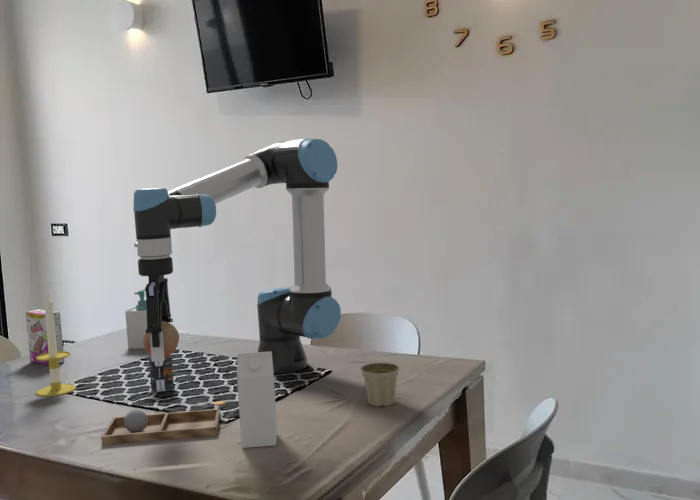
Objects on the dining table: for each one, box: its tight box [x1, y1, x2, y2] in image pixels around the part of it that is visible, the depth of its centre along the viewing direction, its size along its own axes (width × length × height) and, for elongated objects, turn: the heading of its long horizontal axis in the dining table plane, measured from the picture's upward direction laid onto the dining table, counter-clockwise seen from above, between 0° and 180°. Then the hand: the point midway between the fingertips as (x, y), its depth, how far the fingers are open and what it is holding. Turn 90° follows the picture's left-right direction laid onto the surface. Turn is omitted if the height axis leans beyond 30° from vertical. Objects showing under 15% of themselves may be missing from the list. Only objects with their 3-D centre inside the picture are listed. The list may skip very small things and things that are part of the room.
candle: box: [36, 292, 77, 398], centre depth 189 cm, size 10×10×27 cm
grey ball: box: [124, 409, 148, 433], centre depth 154 cm, size 5×5×5 cm
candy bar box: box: [25, 308, 65, 366], centre depth 221 cm, size 11×5×16 cm, turn 58°
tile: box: [194, 400, 227, 407], centre depth 172 cm, size 10×7×1 cm
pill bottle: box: [148, 354, 175, 393], centre depth 187 cm, size 6×6×11 cm
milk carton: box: [236, 351, 278, 449], centre depth 146 cm, size 7×7×19 cm
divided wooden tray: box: [100, 408, 221, 446], centre depth 155 cm, size 24×12×2 cm, turn 97°
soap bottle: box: [124, 288, 147, 350], centre depth 238 cm, size 9×9×19 cm
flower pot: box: [360, 362, 401, 407], centre depth 168 cm, size 9×9×9 cm
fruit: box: [143, 321, 180, 358], centre depth 160 cm, size 8×8×8 cm
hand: (161, 355), depth 160 cm, fingers closed on fruit, 8 cm apart
